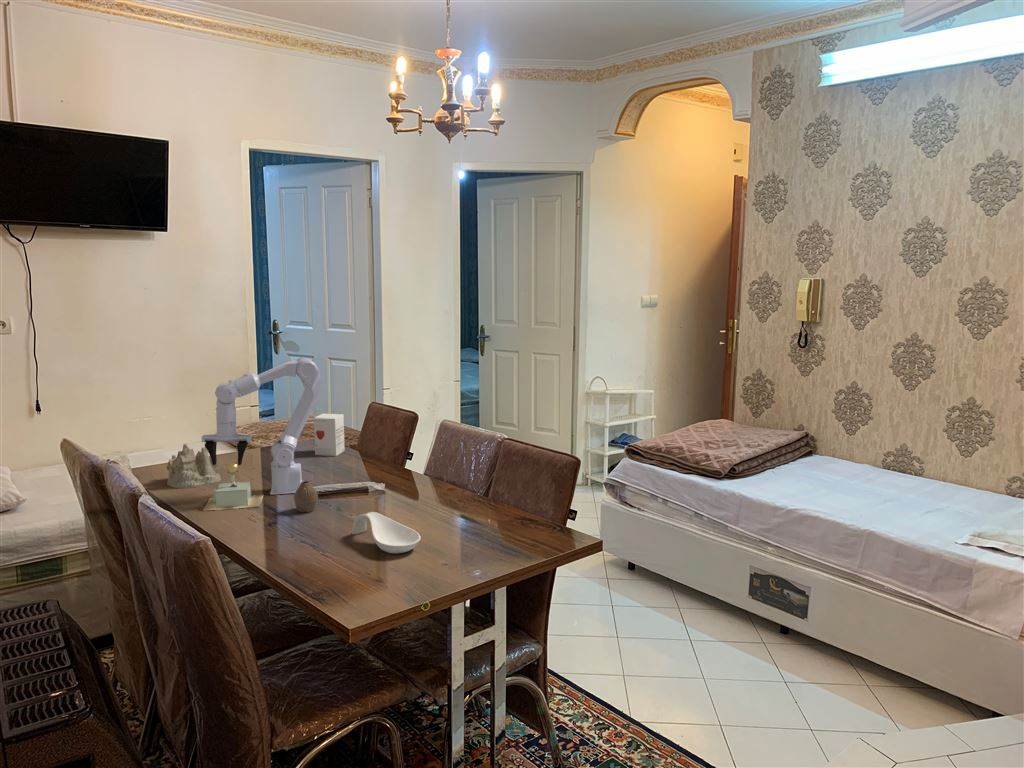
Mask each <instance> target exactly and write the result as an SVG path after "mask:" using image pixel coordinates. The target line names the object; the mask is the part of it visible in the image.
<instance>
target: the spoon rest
mask: <svg viewBox="0 0 1024 768" xmlns="http://www.w3.org/2000/svg"><path fill="white" fill-rule="evenodd" d="M367 520H368V521H369V524H370V529H371V535H372V538H373V540H374V542H375V544H376V546H377V547H378V548H379V549H380V550H382V551H384V552H385V553H388V554H393V555H395V554H402V553H407V552H410V551H411V550H412V549H414V548H416V547H417V545H418V544H419V543H420V541H421V535H420V534H419V532H418V531H416V530H414V529H413V528H411V527H408V526H407V525H404V524H402V523H400V522H398V521H396V520H394V519H392V518H389V517H388V516H385V515H383V514H381V513H380V512H376V511H368V512H367V513H361V514H359V515H358V516H357V517H356V518H355V519H354V521H353V523H352V526H351V534H352V535H359V534H362V533H365V532H367V531H368V530H367V527H368V526H367Z"/></svg>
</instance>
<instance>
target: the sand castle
mask: <svg viewBox="0 0 1024 768" xmlns="http://www.w3.org/2000/svg"><path fill="white" fill-rule="evenodd" d="M182 445H183V446H182V450H178V452H177V456H176V455H175V454H172V455H171V459H168V463H167V466H166V469H167V472H168V478H167V481H166V485H167V486H168V487H170V488H175V489H179V488H181V489H183V488H185V489H194V488H195V487H196V488H198V487H197V486H200V487H202V486H201V485H206V484H210V483H215V482H218V481H220V480H221V481H222V478H221V475H220V474H219V469H218V466H219V464H218V463H216V464H215V465H213V464H212V460H211V457H210V455H209V452H208V451H207V449H206V447H205V446H202V447H201V451H199V450H198V451H197V453H196V454H195V450H194V448H190V446H188V443H183V444H182ZM221 481H220V482H221ZM206 486H207V485H206ZM193 487H194V488H193Z"/></svg>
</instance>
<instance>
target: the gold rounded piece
mask: <svg viewBox="0 0 1024 768" xmlns="http://www.w3.org/2000/svg"><path fill="white" fill-rule="evenodd" d="M238 466H239V465H238V462H230V463H227V464H226V473H227V474H230V481H231V482H230V483H231V484H232V487H235V482H236V479H235V476H236V475H235V474H236V473H238V472H239V467H238Z"/></svg>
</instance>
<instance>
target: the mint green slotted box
mask: <svg viewBox="0 0 1024 768" xmlns="http://www.w3.org/2000/svg"><path fill="white" fill-rule="evenodd" d="M251 485H252V484H251V480H250V481H235V487H232V484H231V482H219V485H218V486H217V488H214V489H213V490H212V498H213V502H216V507H217V508H218V507H233V506H247V505H248V504H249V502H250V499H251V495H252V486H251Z"/></svg>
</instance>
